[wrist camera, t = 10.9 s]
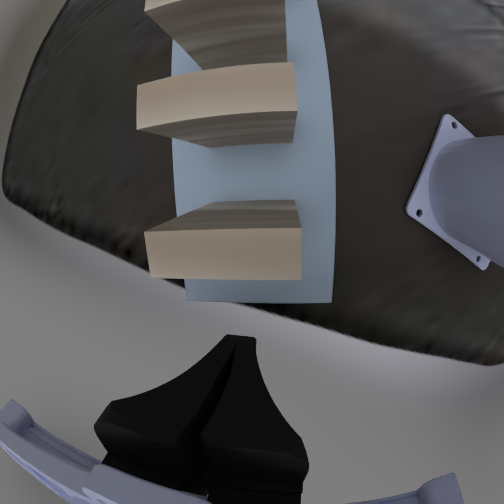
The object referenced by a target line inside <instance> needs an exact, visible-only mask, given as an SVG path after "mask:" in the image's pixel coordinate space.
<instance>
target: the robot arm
mask: <svg viewBox="0 0 504 504" xmlns="http://www.w3.org/2000/svg"><path fill="white" fill-rule="evenodd" d="M452 123H453V124H454V128H453V127H452ZM418 209H419V210H420V214H419V215H418V216H417V215H416V211H417V210H418ZM405 211H406V213H407V214H408V215H409V216H410V217H412V218H413V219H415V220H416V221H418V222H419V223H421V224H422V225H424V226H425V227H427V228H428V229H429V230H431V231H432V232H434V233H435V234H436V235H438V236H439V237H440V238H442V239H443V240H445V241H446V242H447V243H449V244H450V245H451V246H452V247H454V248H455V249H456V250H458V251H459V252H460V253H461V254H463V255H464V256H465V257H466V258H468V259H469V260H470V261H471V262H473V263H474V264H475V265H476V266H477V267H479V268H480V269H481V270H485V269H486V268H487V267H488V265H489V263H490V261H492V262H494V263H496V264H498V265H499V266H501V267H503V268H504V135H500V136H488V137H477V138H475V137H474V136H473V135H472V134H471V133H470V132H469V131H468V130H467V129H466V128H465V127H464V126H462V125H461V124H460V123H459V122H458V121H457V120H456V119H454V118H453V117H452V116H451V115H449V114H445V115H443V116H442V118H441V121H440V124H439V127H438V129H437V132H436V135H435V138H434V140H433V143H432V146H431V148H430V151H429V153H428V156H427V159H426V161H425V163H424V166H423V168H422V171H421V173H420V175H419V178H418V180H417V182H416V184H415V187H414V189H413V191H412V193H411V195H410V198H409V200H408V202H407V204H406V207H405ZM477 257H478V259H477ZM476 259H477V260H476ZM94 430H95V433H96V435H97V436H98V438H99V440H100V441H101V443H102V444H103V446H104V447H105V449H106V450H107V452H108V453H107V454H106V456H105V458H104V460H103V461H100V460H97V459H96V458H94V457H92V456H90V455H88V454H86V453H83V452H82V451H80V450H78V449H76V448H75V447H73V446H71V445H69V444H68V443H66V442H64V441H63V440H61V439H59V438H58V437H56V436H54V435H53V434H51V433H50V432H48V431H47V430H45V429H44V428H42V427H41V426H39V425H38V424H37V423H35V422H34V421H33V419H32V417H31V416H30V414H29V413H28V412H27V411H26V410H25V409H24V408H23V407H22V406H20V405H19V404H18V403H17V402H15V401H14V400H10V401H9V402H8V403H7V404H6V405H5V407H3V409H2V410H1V411H0V445H1V446H2V447H3V448H4V450H5V451H6V452H7V453H8V454H9V455H10V456H11V457H12V458H13V459H14V460H15V461H16V462H17V463H18V464H20V465H21V466H22V467H23V468H24V469H25V470H27V471H28V472H29V473H30V474H32V475H33V476H34V477H35V478H37V479H38V480H39V481H40V482H42V483H43V484H44V485H46V486H47V487H48V488H49V489H51V490H52V491H53V492H55V493H56V494H58V495H59V496H61V497H62V498H63V499H65V500H66V501H68V502H70V504H301V494H302V491H303V481H304V479H305V477H306V475H307V473H308V470H309V462H308V457H307V453H306V450H305V447H304V444H303V442H302V439H301V437H300V436H299V435H298V434H297V433H296V432H295V431H294V430H293V428H292V427H291V426H290V425H289V424H288V422H287V421H286V420H285V418H284V417H283V416H282V414H281V413H280V411H279V410H278V408H277V407H276V405H275V403H274V402H273V400H272V398H271V396H270V394H269V392H268V390H267V388H266V385H265V383H264V381H263V378H262V375H261V372H260V369H259V365H258V361H257V356H256V339H255V338H254V337H247V336H238V335H229V334H228V335H226V336H224V338H223V339H222V340H221V341H220V342H219V343H218V344H217V345H216V346H215V347H214V348H213V349H212V350H211V351H210V352H209V353H208V354H206V355H205V356H204V357H203V358H202V359H201V360H200V361H198V362H197V363H196V364H195V365H193V366H192V367H191V368H190V369H188V370H187V371H185V372H184V373H183V374H181V375H179V376H178V377H176V378H174V379H173V380H171V381H169V382H167V383H165V384H163V385H161V386H159V387H157V388H154V389H152V390H150V391H147V392H144V393H142V394H138V395H135V396H132V397H128V398H124V399H119V400H115V401H112V402H111V403H110V404H109V405H108V406H107V407H106V409H105V410H104V411H103V413H102V414H101V416H100V417H99V419H98V420H97V422H96V423H95V424H94ZM207 495H208V497H207ZM348 504H464V502H463V498H462V495H461V491H460V489H459V485H458V482H457V479H456V475H455V473H450V474H447V475H444V476H441V477H438V478H435V479H432V480H430V481H428V482H426V483H425V484H423V485H422V486H421V487H420V488H419V489H418V490H416V491H413V492H409V493H405V494H401V495H396V496H392V497H387V498H382V499H376V500H371V501H364V502H357V503H348Z"/></svg>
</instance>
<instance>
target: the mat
mask: <svg viewBox="0 0 504 504" xmlns="http://www.w3.org/2000/svg"><path fill="white" fill-rule="evenodd" d="M285 13H286V36H287V62H294V72H295V84H296V96H297V110H298V111H297V118H296V124H295V131H294V137H293V143H282V144H256V145H240V146H227V147H215V148H208V147H204V146H201V145H197V144H194V143H190V142H186V141H182V140H179V139H175V138H172V150H173V170H174V186H175V199H176V211H177V217H179V216H181V215H183V214H185V213H188V212H190V211H193V210H195V209H197V208H200V207H202V206H204V205H207V204H209V203H212V202H224V201H249V200H295V203H296V207H297V211H298V215H299V219H300V223H301V227H302V273H301V280H223V279H184V281H185V288H186V295H187V300H188V301H208V302H209V301H210V302H238V303H331V302H332V289H333V274H334V255H335V222H336V181H335V149H334V130H333V116H332V103H331V93H330V83H329V74H328V66H327V58H326V51H325V44H324V38H323V32H322V26H321V20H320V15H319V10H318V5H317V0H285ZM197 71H203V70H202V69H201V67H200V66H199V65H198V64H197V63H196V62H195V61H194V60H193V59H192V58H191V57H190V56H189V55H188V54H187V53H186V52H185V50H184V49H183V48H182V47H181V46H180V45H179V44H178V43H177V42H176V41H175V40H174V39H173V46H172V76H177V75H181V74H186V73H192V72H197ZM172 76H171V77H172Z"/></svg>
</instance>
